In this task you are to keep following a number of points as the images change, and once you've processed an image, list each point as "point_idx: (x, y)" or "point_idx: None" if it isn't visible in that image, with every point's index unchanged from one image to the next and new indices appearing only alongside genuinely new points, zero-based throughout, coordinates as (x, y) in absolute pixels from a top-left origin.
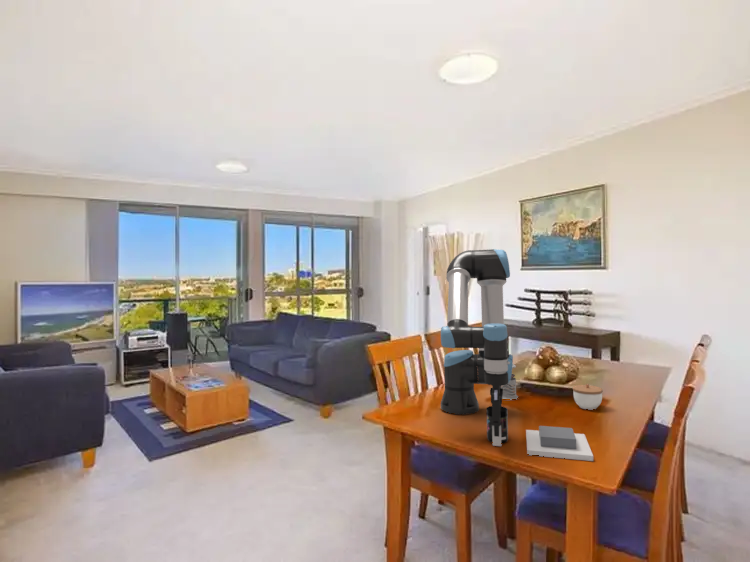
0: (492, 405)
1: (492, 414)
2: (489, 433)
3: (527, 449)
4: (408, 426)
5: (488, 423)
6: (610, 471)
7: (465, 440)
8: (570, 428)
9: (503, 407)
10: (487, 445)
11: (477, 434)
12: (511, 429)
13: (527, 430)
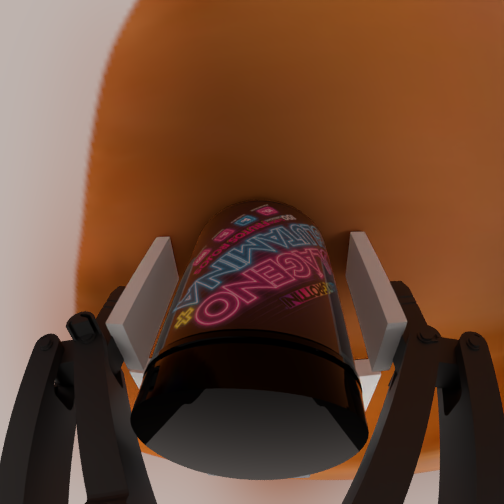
0: (2, 469)
1: (18, 402)
2: (199, 243)
3: (136, 373)
4: None
5: (191, 283)
6: (149, 450)
7: (194, 54)
8: (305, 476)
9: (313, 468)
10: (159, 206)
11: (345, 121)
12: (439, 304)
13: (371, 378)
